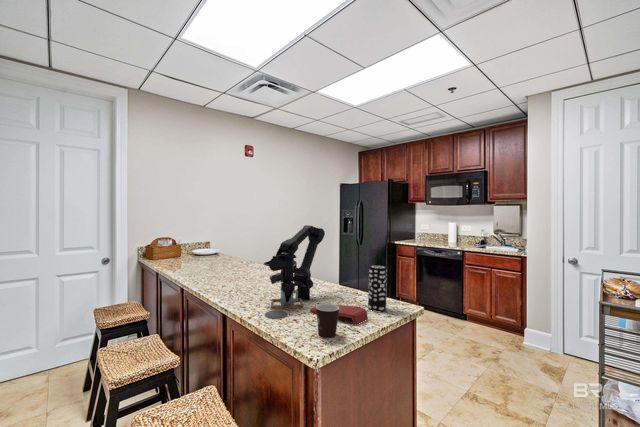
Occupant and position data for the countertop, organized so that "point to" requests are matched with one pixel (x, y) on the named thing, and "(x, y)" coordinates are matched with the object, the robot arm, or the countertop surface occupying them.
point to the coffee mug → (327, 320)
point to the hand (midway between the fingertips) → (286, 300)
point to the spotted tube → (377, 288)
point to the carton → (350, 313)
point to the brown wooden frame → (286, 305)
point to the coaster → (276, 314)
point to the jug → (283, 300)
